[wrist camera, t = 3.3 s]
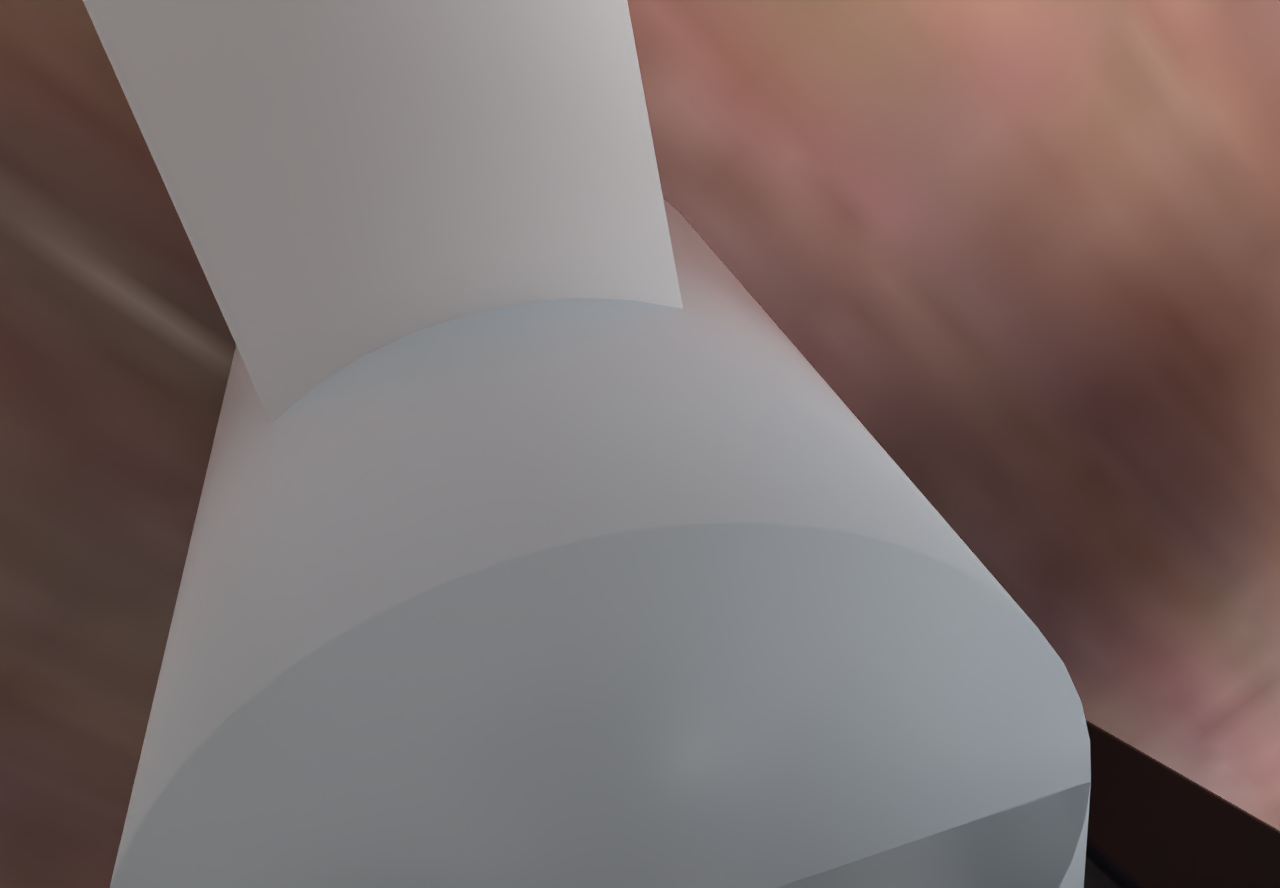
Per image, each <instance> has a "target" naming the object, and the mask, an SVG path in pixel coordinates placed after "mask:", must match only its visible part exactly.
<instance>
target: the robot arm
mask: <svg viewBox="0 0 1280 888" xmlns="http://www.w3.org/2000/svg"><path fill="white" fill-rule="evenodd" d="M1086 725H1087V729H1088V734H1089V738H1090V759H1091V788H1090V803H1089V817H1088V831H1087V846H1086V860H1085V874H1084V888H1280V831H1279V830H1277V829H1275V828H1274V827H1272V826H1270V825H1268V824H1267V823H1265V822H1263V821H1261V820H1260V819H1258V818H1256V817H1254V816H1253V815H1251V814H1249V813H1247V812H1246V811H1244V810H1242V809H1240V808H1239V807H1237V806H1235V805H1233V804H1232V803H1230V802H1228V801H1226V800H1225V799H1223V798H1221V797H1220V796H1218V795H1216V794H1214V793H1213V792H1211V791H1209V790H1207V789H1206V788H1204V787H1202V786H1200V785H1199V784H1197V783H1195V782H1193V781H1192V780H1190V779H1188V778H1186V777H1185V776H1183V775H1181V774H1179V773H1178V772H1176V771H1174V770H1172V769H1171V768H1169V767H1167V766H1165V765H1164V764H1162V763H1160V762H1158V761H1157V760H1155V759H1153V758H1151V757H1150V756H1148V755H1146V754H1144V753H1143V752H1141V751H1139V750H1137V749H1136V748H1134V747H1132V746H1130V745H1129V744H1127V743H1125V742H1123V741H1122V740H1120V739H1118V738H1116V737H1115V736H1113V735H1111V734H1109V733H1108V732H1106V731H1104V730H1102V729H1101V728H1099V727H1097V726H1095V725H1094V724H1092V723H1090V722H1088V721H1087V720H1086Z"/></svg>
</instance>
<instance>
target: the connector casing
mask: <svg viewBox="0 0 1280 888" xmlns="http://www.w3.org/2000/svg"><path fill="white" fill-rule="evenodd" d="M83 2H84V5H85V7H86V9H87V11H88V14H89V16H90V18H91V20H92V23H93V25H94V27H95V29H96V32H97V34H98V36H99V38H100V41H101V43H102V45H103V47H104V50H105V52H106V54H107V56H108V59H109V61H110V63H111V65H112V67H113V70H114V72H115V74H116V76H117V79H118V81H119V83H120V85H121V88H122V90H123V92H124V94H125V97H126V99H127V101H128V103H129V106H130V108H131V110H132V112H133V115H134V117H135V119H136V121H137V124H138V126H139V128H140V130H141V133H142V135H143V137H144V139H145V142H146V144H147V146H148V148H149V150H150V153H151V155H152V157H153V159H154V162H155V164H156V166H157V168H158V171H159V173H160V175H161V177H162V180H163V182H164V184H165V186H166V189H167V191H168V193H169V195H170V198H171V200H172V202H173V204H174V207H175V209H176V211H177V213H178V216H179V218H180V220H181V222H182V225H183V227H184V229H185V231H186V234H187V236H188V238H189V240H190V242H191V245H192V247H193V249H194V251H195V254H196V256H197V258H198V260H199V263H200V265H201V267H202V269H203V272H204V274H205V276H206V278H207V281H208V283H209V285H210V287H211V290H212V292H213V294H214V296H215V299H216V301H217V303H218V305H219V308H220V310H221V312H222V314H223V317H224V319H225V321H226V323H227V325H228V328H229V330H230V332H231V334H232V337H233V339H234V341H235V343H236V347H235V352H234V356H233V360H232V364H231V369H230V373H229V377H228V382H227V386H226V390H225V395H224V399H223V403H222V407H221V412H220V416H219V420H218V425H217V429H216V433H215V438H214V442H213V446H212V450H211V455H210V459H209V463H208V468H207V472H206V476H205V481H204V485H203V489H202V493H201V498H200V502H199V506H198V511H197V515H196V519H195V524H194V528H193V532H192V536H191V541H190V545H189V549H188V554H187V558H186V562H185V566H184V571H183V575H182V579H181V584H180V588H179V592H178V597H177V601H176V605H175V609H174V614H173V618H172V622H171V627H170V631H169V635H168V640H167V644H166V648H165V652H164V657H163V661H162V665H161V670H160V674H159V678H158V683H157V687H156V691H155V695H154V700H153V704H152V708H151V713H150V717H149V721H148V725H147V730H146V734H145V738H144V743H143V747H142V751H141V756H140V760H139V764H138V768H137V773H136V777H135V781H134V786H133V790H132V794H131V799H130V803H129V807H128V811H127V816H126V820H125V824H124V829H123V833H122V837H121V842H120V846H119V850H118V854H117V859H116V863H115V867H114V872H113V876H112V880H111V885H110V888H1084V874H1085V860H1086V846H1087V831H1088V817H1089V803H1090V788H1091V759H1090V738H1089V734H1088V729H1087V725H1086V720H1085V716H1084V711H1083V707H1082V702H1081V700H1080V697H1079V695H1078V693H1077V691H1076V689H1075V686H1074V684H1073V682H1072V680H1071V678H1070V675H1069V673H1068V671H1067V669H1066V667H1065V664H1064V663H1063V661H1062V660H1061V659H1060V657H1059V656H1058V654H1057V653H1056V652H1055V650H1054V649H1053V648H1052V646H1051V645H1050V644H1049V642H1048V641H1047V640H1046V638H1045V637H1044V636H1043V634H1042V633H1041V632H1040V630H1039V629H1038V627H1037V626H1036V625H1035V624H1034V623H1033V622H1032V621H1031V619H1030V618H1029V617H1028V616H1027V615H1026V614H1025V612H1024V611H1023V610H1022V609H1021V608H1020V607H1019V605H1018V604H1017V603H1016V602H1015V601H1014V600H1013V598H1012V597H1011V596H1010V595H1009V594H1008V593H1007V592H1006V590H1005V589H1004V588H1003V587H1002V586H1001V585H1000V583H999V582H998V581H997V580H996V579H995V578H994V576H993V575H992V574H991V573H990V572H989V571H988V569H987V568H986V567H985V566H984V565H983V564H982V563H981V561H980V560H979V559H978V558H977V557H976V556H975V554H974V553H973V552H972V551H971V550H970V549H969V547H968V546H967V545H966V544H965V543H964V542H963V541H962V539H961V538H960V537H959V536H958V535H957V534H956V532H955V531H954V530H953V529H952V528H951V527H950V525H949V524H948V523H947V522H946V521H945V520H944V518H943V517H942V516H941V515H940V514H939V513H938V512H937V510H936V509H935V508H934V507H933V506H932V505H931V503H930V502H929V501H928V500H927V499H926V498H925V496H924V495H923V494H922V493H921V492H920V491H919V489H918V488H917V487H916V486H915V485H914V484H913V483H912V481H911V480H910V479H909V478H908V477H907V476H906V474H905V473H904V472H903V471H902V470H901V469H900V467H899V466H898V465H897V464H896V463H895V462H894V460H893V459H892V458H891V457H890V456H889V455H888V454H887V452H886V451H885V450H884V449H883V448H882V447H881V445H880V444H879V443H878V442H877V441H876V440H875V438H874V437H873V436H872V435H871V434H870V433H869V432H868V430H867V429H866V428H865V427H864V426H863V425H862V423H861V422H860V421H859V420H858V419H857V418H856V416H855V415H854V414H853V413H852V412H851V411H850V409H849V408H848V407H847V406H846V405H845V404H844V403H843V401H842V400H841V399H840V398H839V397H838V396H837V394H836V393H835V392H834V391H833V390H832V389H831V387H830V386H829V385H828V384H827V383H826V382H825V380H824V379H823V378H822V377H821V376H820V375H819V374H818V372H817V371H816V370H815V369H814V368H813V367H812V365H811V364H810V363H809V362H808V361H807V360H806V358H805V357H804V356H803V355H802V354H801V353H800V352H799V350H798V349H797V348H796V347H795V346H794V345H793V343H792V342H791V341H790V340H789V339H788V338H787V336H786V335H785V334H784V333H783V332H782V331H781V329H780V328H779V327H778V326H777V325H776V324H775V323H774V321H773V320H772V319H771V318H770V317H769V316H768V314H767V313H766V312H765V311H764V310H763V309H762V307H761V306H760V305H759V304H758V303H757V302H756V300H755V299H754V298H753V297H752V296H751V295H750V294H749V292H748V291H747V290H746V289H745V288H744V287H743V285H742V284H741V283H740V282H739V281H738V280H737V278H736V277H735V276H734V275H733V274H732V273H731V271H730V270H729V269H728V268H727V267H726V266H725V265H724V263H723V262H722V261H721V260H720V259H719V258H718V256H717V255H716V254H715V253H714V252H713V251H712V249H711V248H710V247H709V246H708V245H707V244H706V243H705V241H704V240H703V239H702V238H701V237H700V236H699V234H698V233H697V232H696V231H695V230H694V229H693V227H692V226H691V225H690V224H689V223H688V222H687V220H686V219H685V218H684V217H683V216H682V215H681V214H680V213H679V212H678V211H677V210H676V209H675V208H674V207H673V206H672V205H671V204H670V203H669V202H668V201H667V200H666V199H665V198H664V197H663V195H662V189H661V184H660V178H659V173H658V167H657V162H656V156H655V151H654V145H653V140H652V134H651V129H650V123H649V118H648V112H647V107H646V101H645V96H644V90H643V85H642V79H641V74H640V68H639V63H638V57H637V52H636V46H635V41H634V35H633V30H632V24H631V19H630V13H629V8H628V2H627V0H83Z"/></svg>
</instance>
